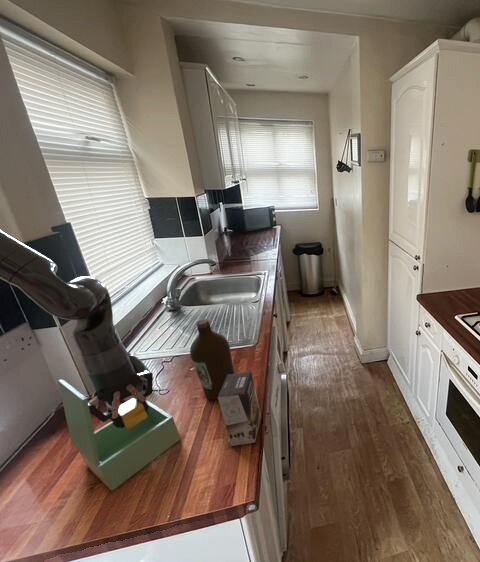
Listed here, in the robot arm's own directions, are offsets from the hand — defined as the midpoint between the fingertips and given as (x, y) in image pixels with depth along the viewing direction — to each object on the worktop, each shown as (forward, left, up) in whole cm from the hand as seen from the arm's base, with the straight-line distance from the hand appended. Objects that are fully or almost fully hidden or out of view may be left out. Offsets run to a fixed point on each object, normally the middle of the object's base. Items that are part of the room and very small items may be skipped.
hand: (132, 418), depth 76 cm
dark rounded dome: (+9, +23, -9) cm, 26 cm away
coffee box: (+16, -20, -9) cm, 27 cm away
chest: (-2, 0, -9) cm, 10 cm away
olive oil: (+23, +1, -9) cm, 25 cm away
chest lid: (-8, 0, +7) cm, 11 cm away
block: (0, 0, 0) cm, 0 cm away
